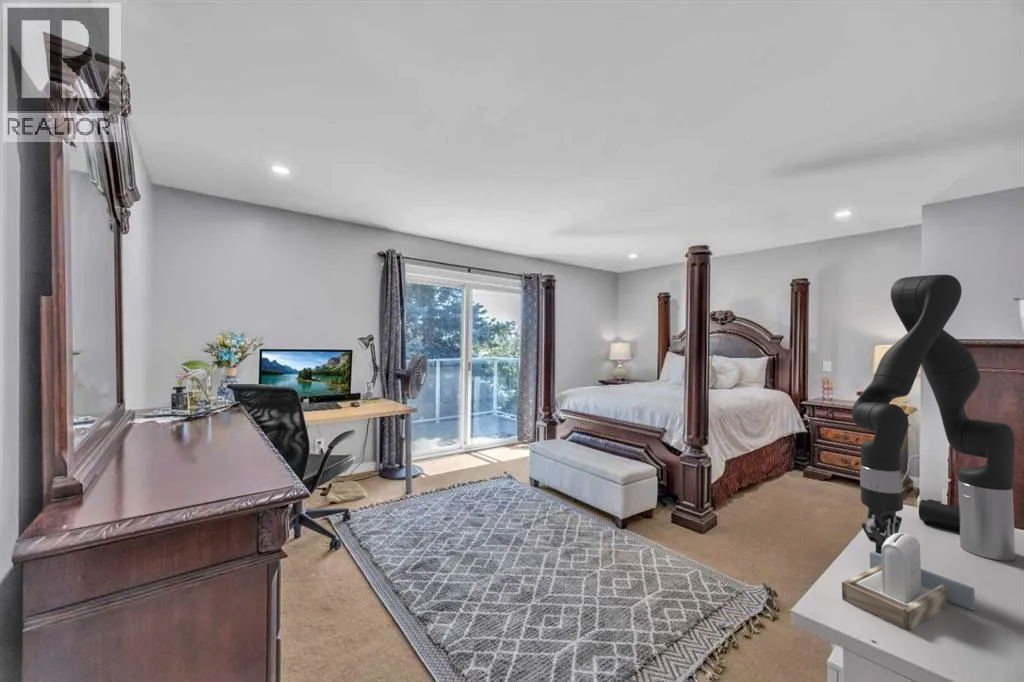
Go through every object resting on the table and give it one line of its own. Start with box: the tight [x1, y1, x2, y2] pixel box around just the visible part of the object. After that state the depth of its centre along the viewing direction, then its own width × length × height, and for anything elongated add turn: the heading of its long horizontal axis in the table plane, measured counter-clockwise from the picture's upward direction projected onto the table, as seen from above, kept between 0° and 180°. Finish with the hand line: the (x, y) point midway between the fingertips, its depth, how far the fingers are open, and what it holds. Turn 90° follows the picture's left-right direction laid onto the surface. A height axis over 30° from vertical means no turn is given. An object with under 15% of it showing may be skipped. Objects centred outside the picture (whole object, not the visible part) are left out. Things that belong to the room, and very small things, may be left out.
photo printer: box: [881, 532, 922, 604], centre depth 88 cm, size 10×4×12 cm, turn 121°
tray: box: [855, 551, 976, 610], centre depth 88 cm, size 16×17×4 cm
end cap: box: [918, 498, 960, 532], centre depth 120 cm, size 10×7×7 cm
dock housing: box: [841, 564, 948, 631], centre depth 87 cm, size 16×11×4 cm
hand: (883, 559), depth 99 cm, fingers closed
